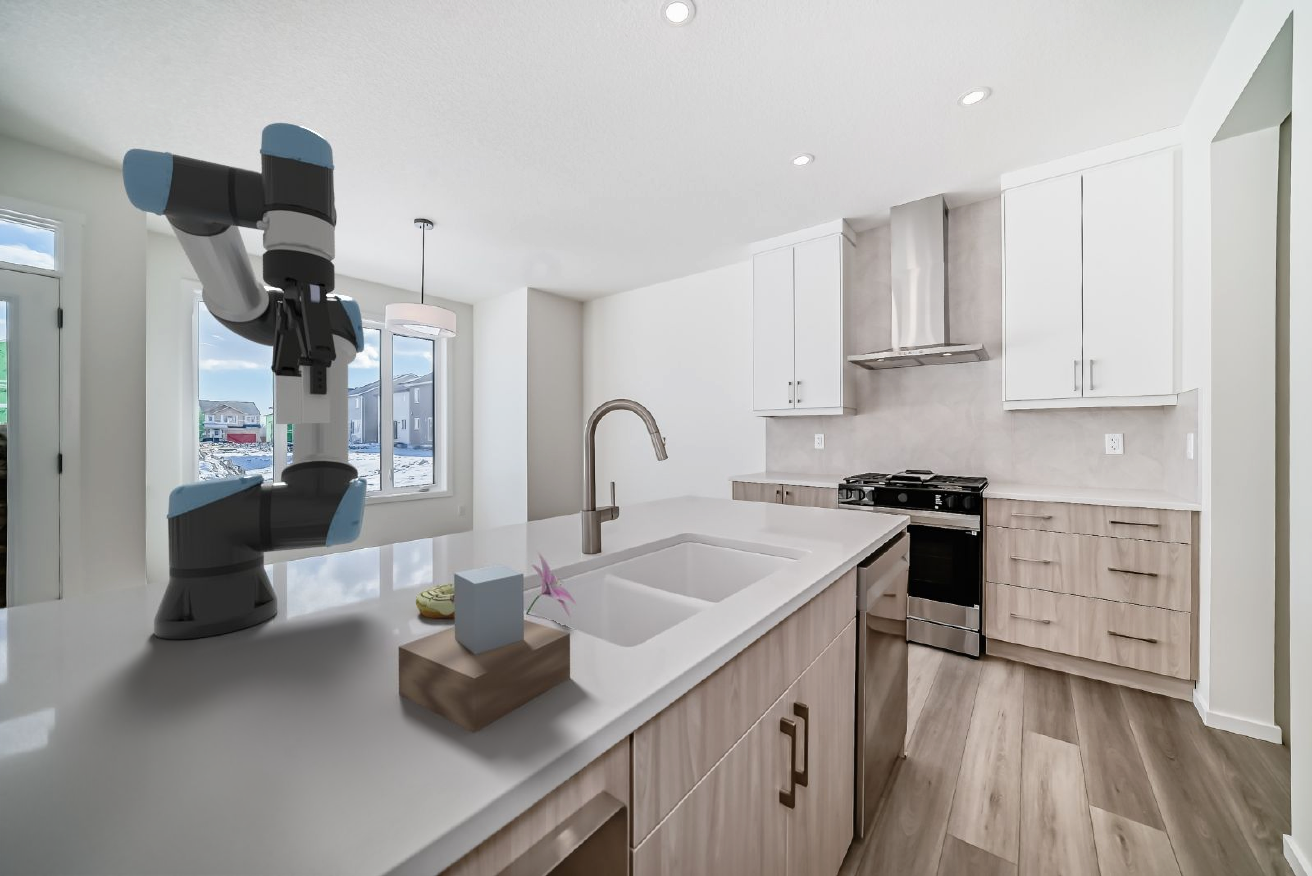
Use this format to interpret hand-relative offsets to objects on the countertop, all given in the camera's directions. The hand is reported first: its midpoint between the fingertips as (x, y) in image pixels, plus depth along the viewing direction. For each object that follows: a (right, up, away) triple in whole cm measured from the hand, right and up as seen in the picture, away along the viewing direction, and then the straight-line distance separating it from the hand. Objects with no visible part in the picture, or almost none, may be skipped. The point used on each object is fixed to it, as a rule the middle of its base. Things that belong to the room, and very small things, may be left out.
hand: (301, 423), depth 66 cm
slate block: (+25, -26, -4) cm, 36 cm away
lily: (+28, -32, +21) cm, 47 cm away
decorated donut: (+10, -32, +23) cm, 40 cm away
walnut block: (+25, -32, -4) cm, 41 cm away
